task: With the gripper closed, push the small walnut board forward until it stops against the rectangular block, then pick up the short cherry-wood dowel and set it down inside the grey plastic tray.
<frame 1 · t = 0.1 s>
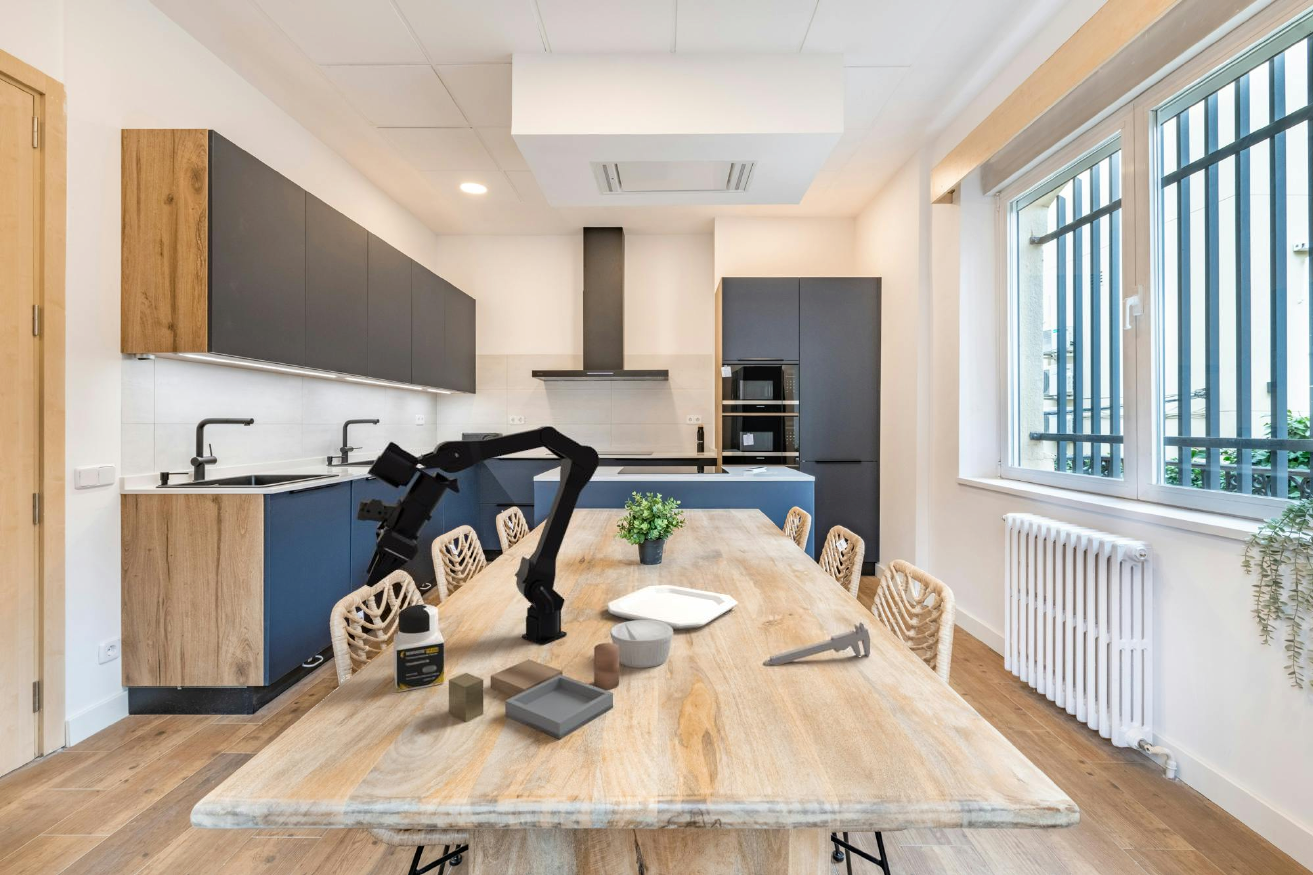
hand: (368, 579, 102), 15 cm above the table, tool tilted 35°, fingers open, 9 cm apart
tray: (559, 711, 85), on the table
ramekin: (641, 659, 106), on the table
caliper: (817, 662, 105), on the table
dowel: (606, 684, 95), on the table
board: (526, 688, 94), on the table
rectangular block: (466, 713, 85), on the table
medicine bottle: (418, 681, 96), on the table
plate: (672, 612, 133), on the table
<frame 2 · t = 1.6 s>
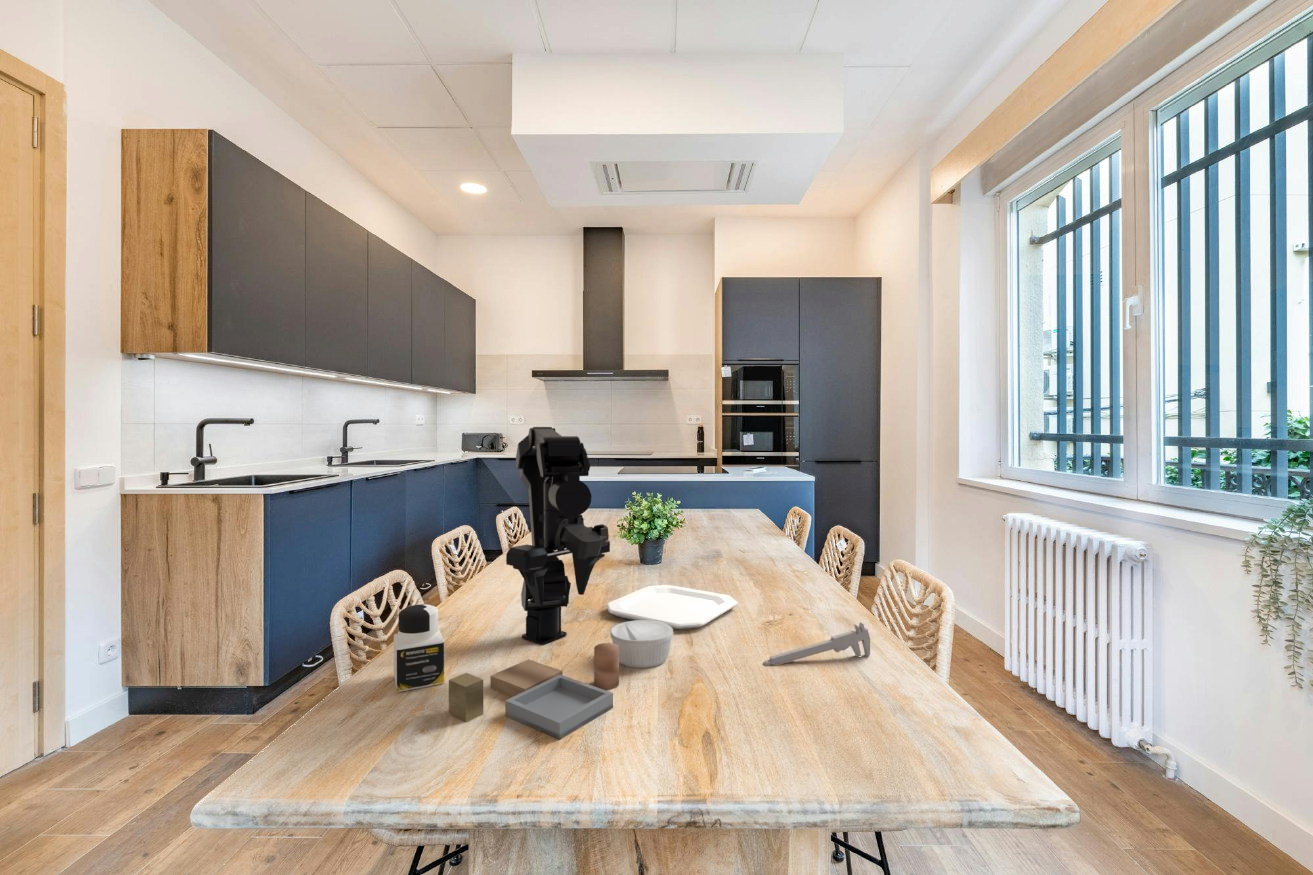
hand: (561, 600, 100), 12 cm above the table, tool pointing down, fingers open, 9 cm apart
nothing on the table moved.
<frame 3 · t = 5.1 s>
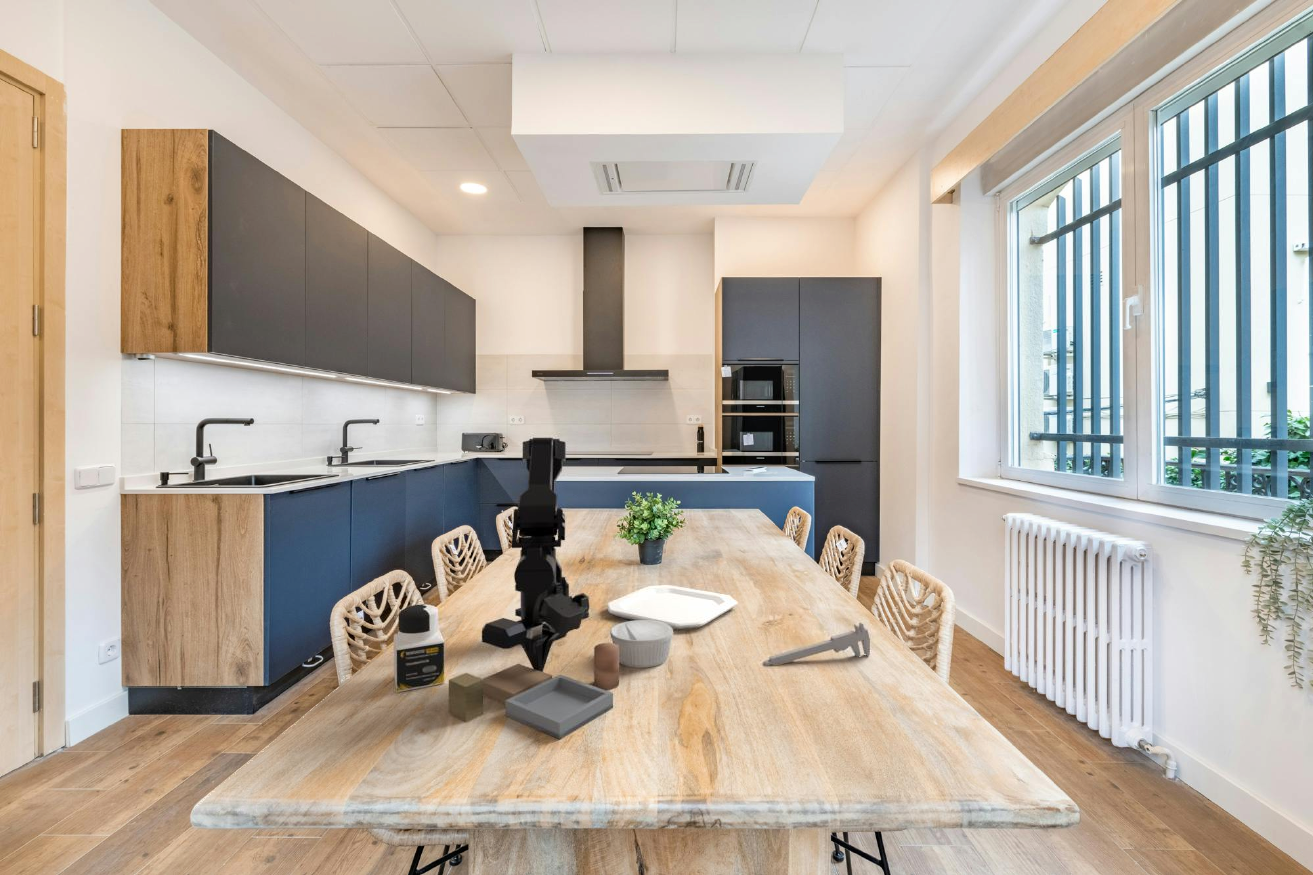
hand: (538, 672, 96), 1 cm above the table, tool pointing down, fingers closed
board: (515, 693, 92), on the table, touching gripper
everything else where it was.
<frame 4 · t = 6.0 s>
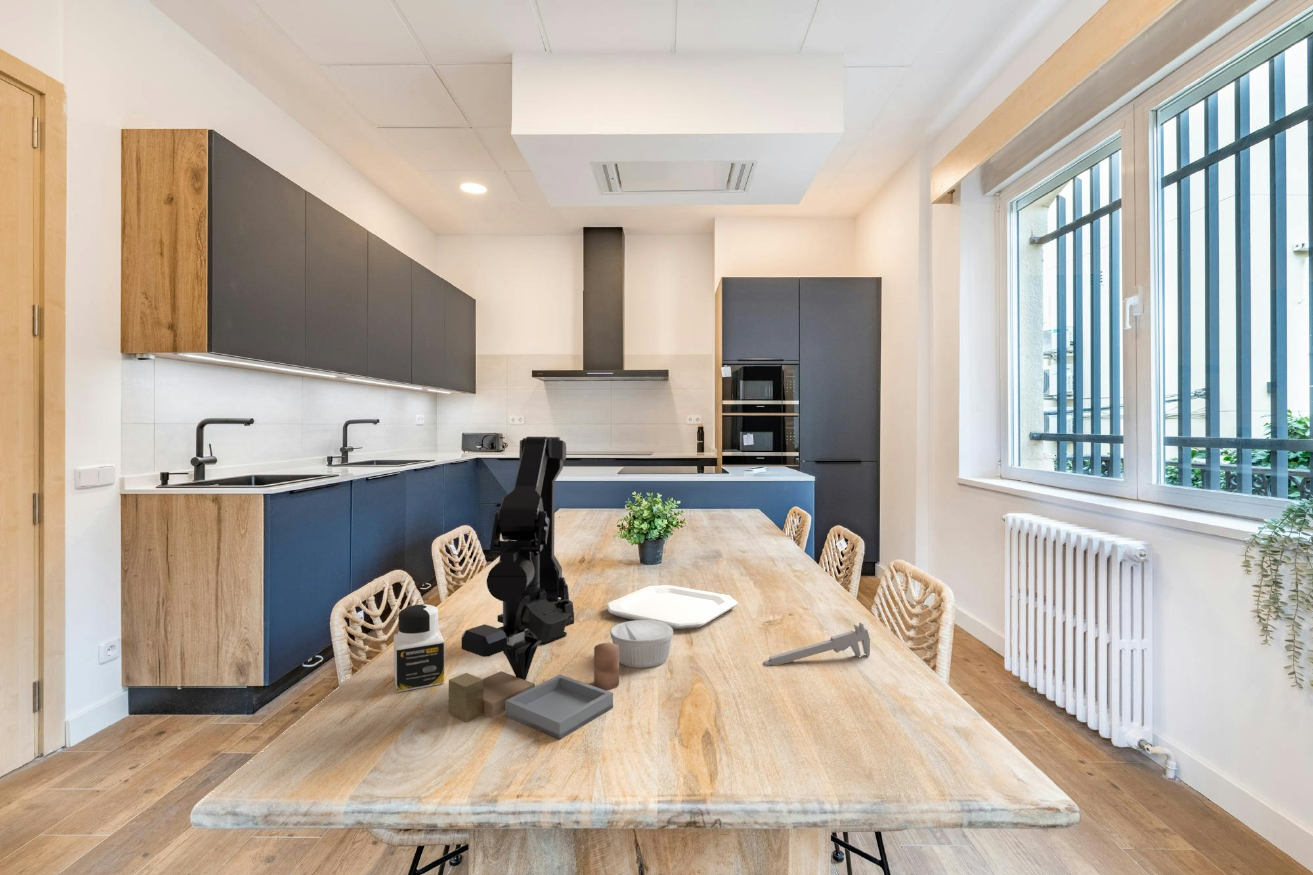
hand: (521, 680, 93), 1 cm above the table, tool pointing down, fingers closed
board: (497, 702, 89), on the table, touching gripper
everything else where it was.
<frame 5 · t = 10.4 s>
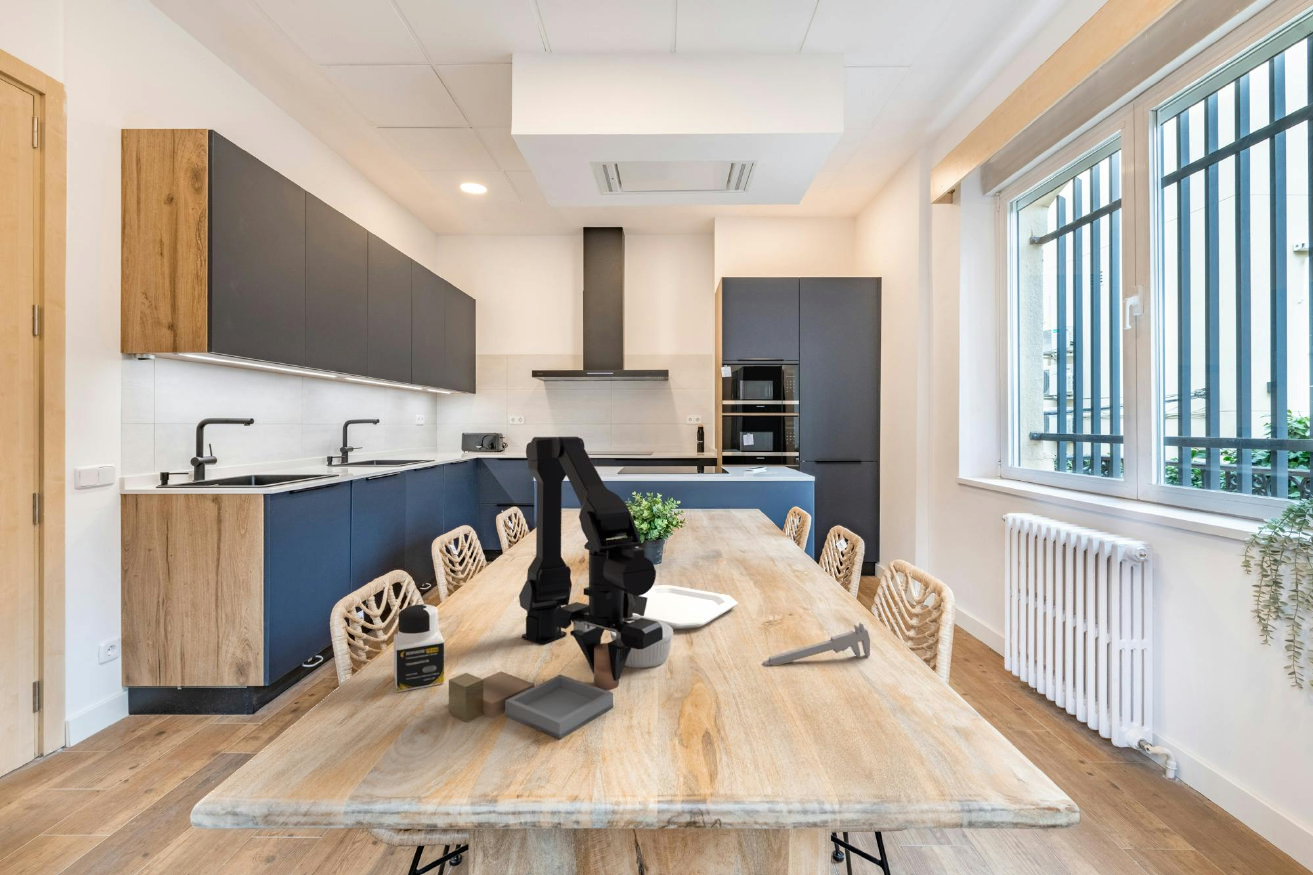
hand: (606, 676, 95), 1 cm above the table, tool pointing down, fingers closed on dowel, 4 cm apart
dowel: (606, 684, 95), on the table, touching gripper
board: (496, 702, 89), on the table
everything else where it was.
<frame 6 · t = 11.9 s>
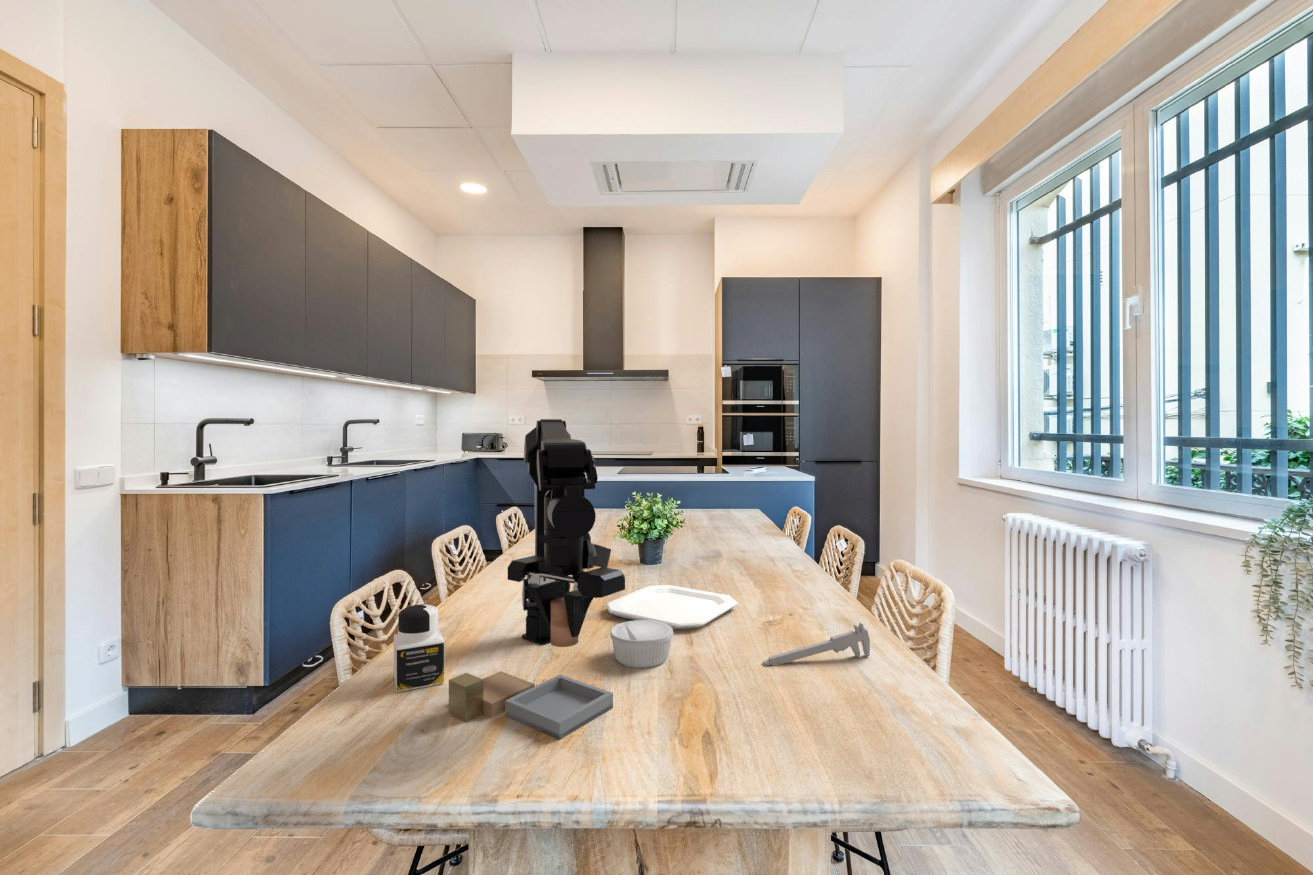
hand: (564, 633, 86), 11 cm above the table, tool pointing down, fingers closed on dowel, 4 cm apart
dowel: (564, 642, 86), point 10 cm above the table, touching gripper
everything else where it was.
when the fingers open (3 cm above the table, at t = 13.7 s): dowel drops 1 cm, resting on tray.
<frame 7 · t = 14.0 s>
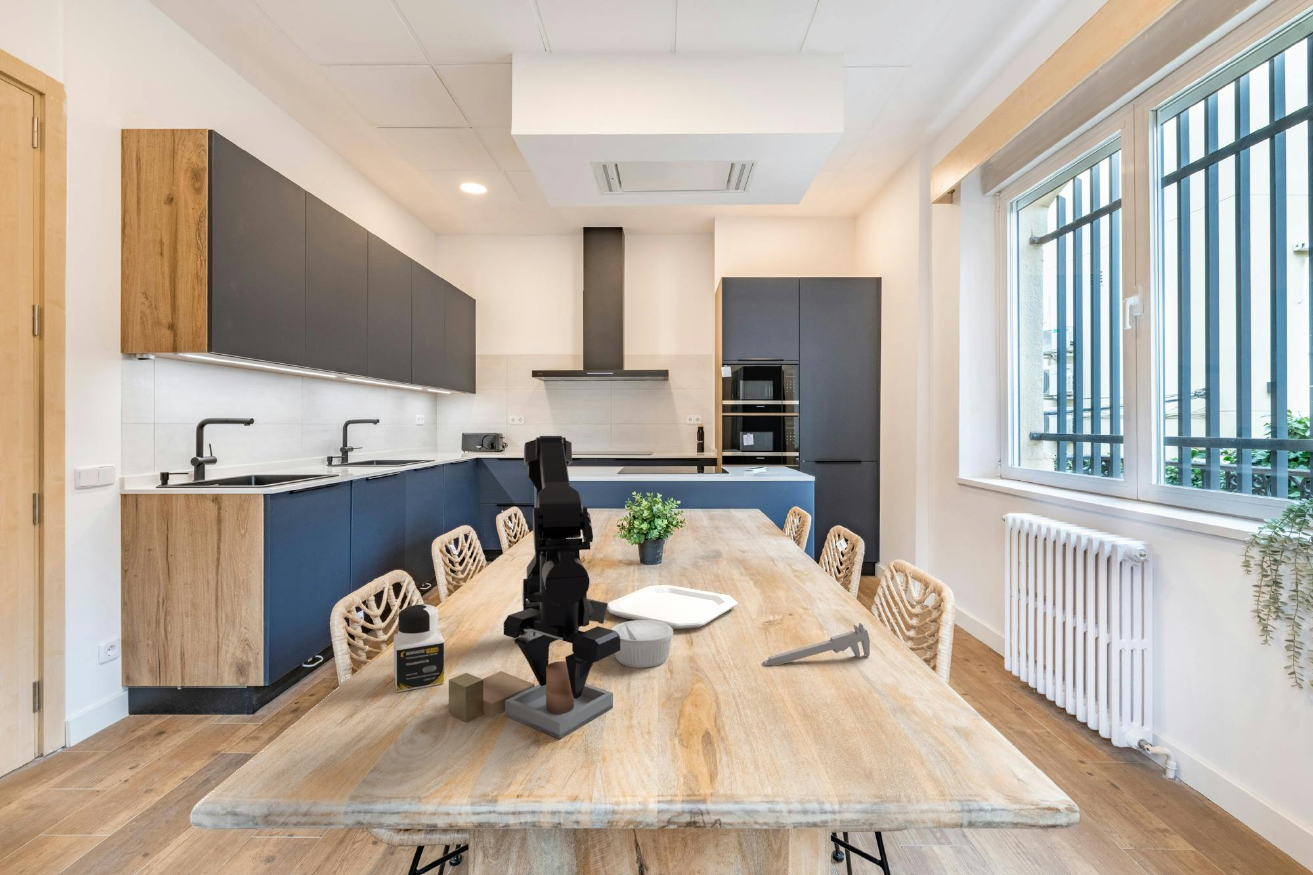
hand: (560, 691, 85), 3 cm above the table, tool pointing down, fingers open, 7 cm apart
dowel: (560, 707, 86), point 1 cm above the table, touching tray
everything else where it was.
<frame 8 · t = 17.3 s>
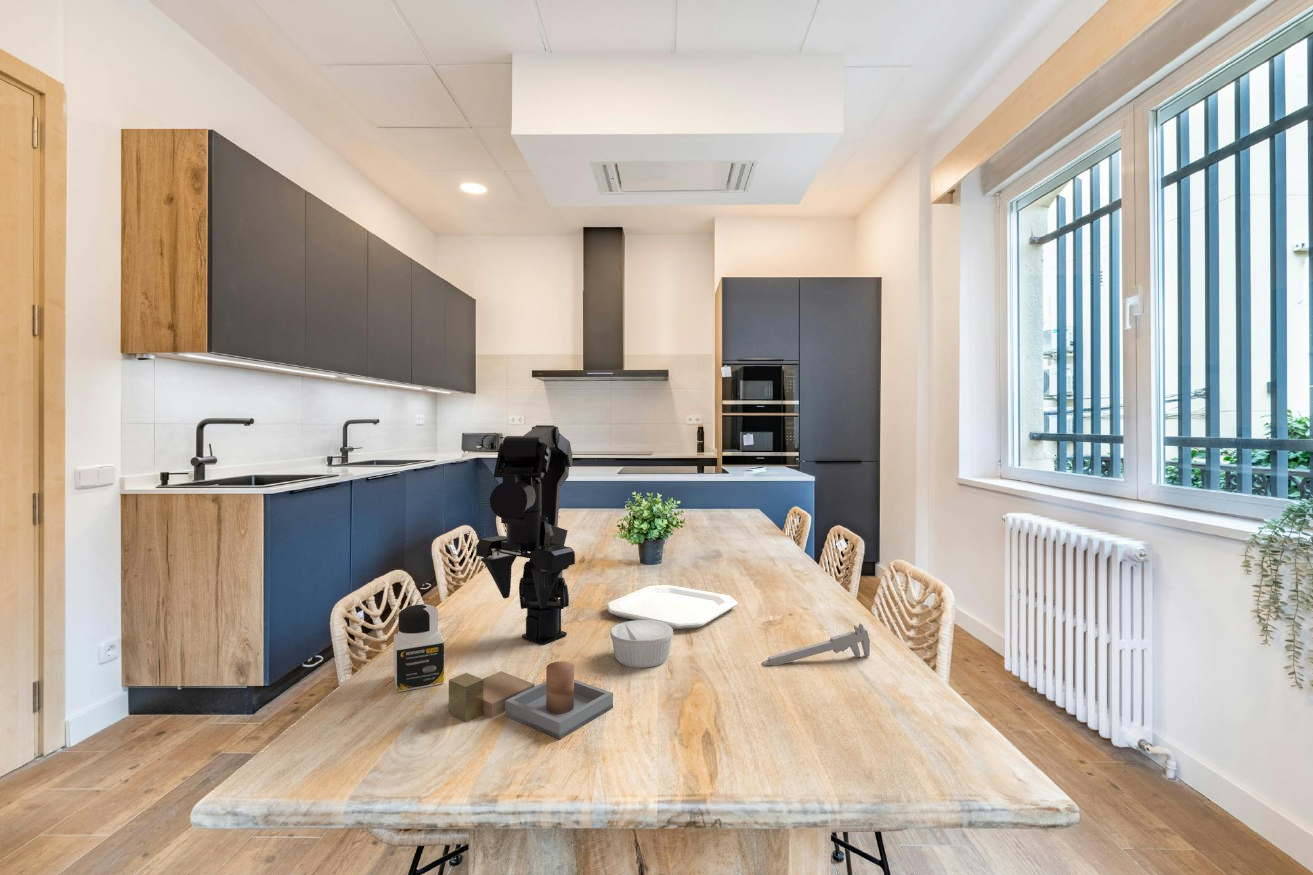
hand: (524, 602, 99), 12 cm above the table, tool pointing down, fingers open, 9 cm apart
nothing on the table moved.
at the end: board 0.2 cm from the target spot, on the table; dowel inside the target area on the tray (0.0 cm from its centre), point 0.6 cm above the tray's base; the gripper is holding nothing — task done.
